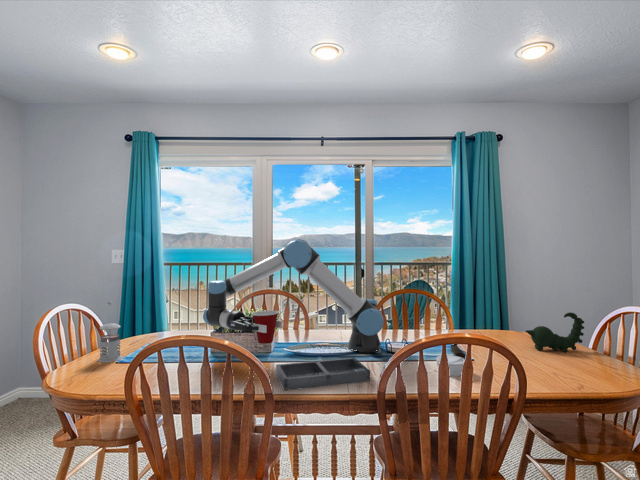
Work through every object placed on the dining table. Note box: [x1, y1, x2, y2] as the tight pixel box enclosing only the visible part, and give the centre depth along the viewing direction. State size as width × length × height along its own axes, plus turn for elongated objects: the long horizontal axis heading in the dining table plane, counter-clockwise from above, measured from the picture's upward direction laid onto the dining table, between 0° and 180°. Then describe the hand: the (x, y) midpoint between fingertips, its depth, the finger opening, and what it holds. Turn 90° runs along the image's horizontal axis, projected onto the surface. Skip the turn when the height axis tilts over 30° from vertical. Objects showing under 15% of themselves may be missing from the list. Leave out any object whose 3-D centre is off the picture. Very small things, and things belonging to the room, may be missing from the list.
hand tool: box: [450, 343, 466, 360], centre depth 184 cm, size 19×4×5 cm, turn 170°
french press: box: [97, 300, 124, 363], centre depth 178 cm, size 10×12×25 cm
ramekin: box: [435, 354, 466, 377], centre depth 161 cm, size 11×11×5 cm
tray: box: [275, 357, 371, 391], centre depth 155 cm, size 32×16×4 cm, turn 106°
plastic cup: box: [251, 310, 280, 345], centre depth 163 cm, size 11×11×12 cm
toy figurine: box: [525, 312, 585, 353], centre depth 190 cm, size 9×19×25 cm
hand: (274, 326), depth 161 cm, fingers closed on plastic cup, 9 cm apart
